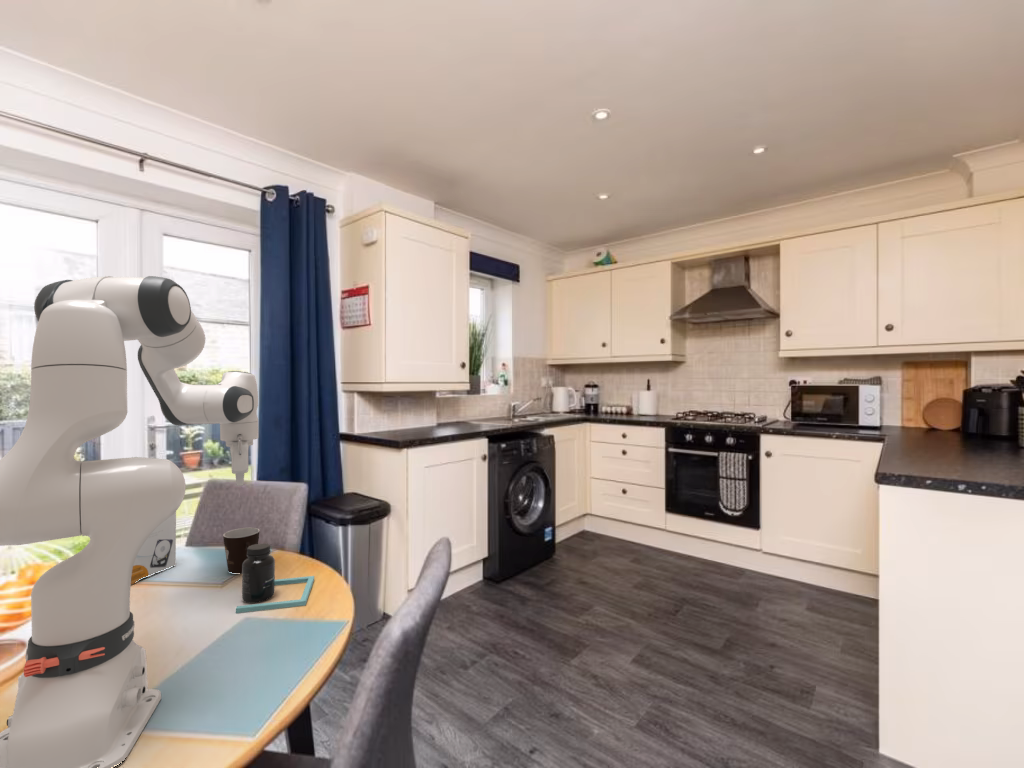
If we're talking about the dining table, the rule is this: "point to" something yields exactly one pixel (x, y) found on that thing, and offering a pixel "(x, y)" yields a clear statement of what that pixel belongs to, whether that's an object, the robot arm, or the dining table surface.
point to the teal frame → (283, 603)
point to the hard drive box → (156, 551)
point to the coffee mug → (239, 546)
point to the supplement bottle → (258, 574)
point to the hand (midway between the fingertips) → (239, 484)
